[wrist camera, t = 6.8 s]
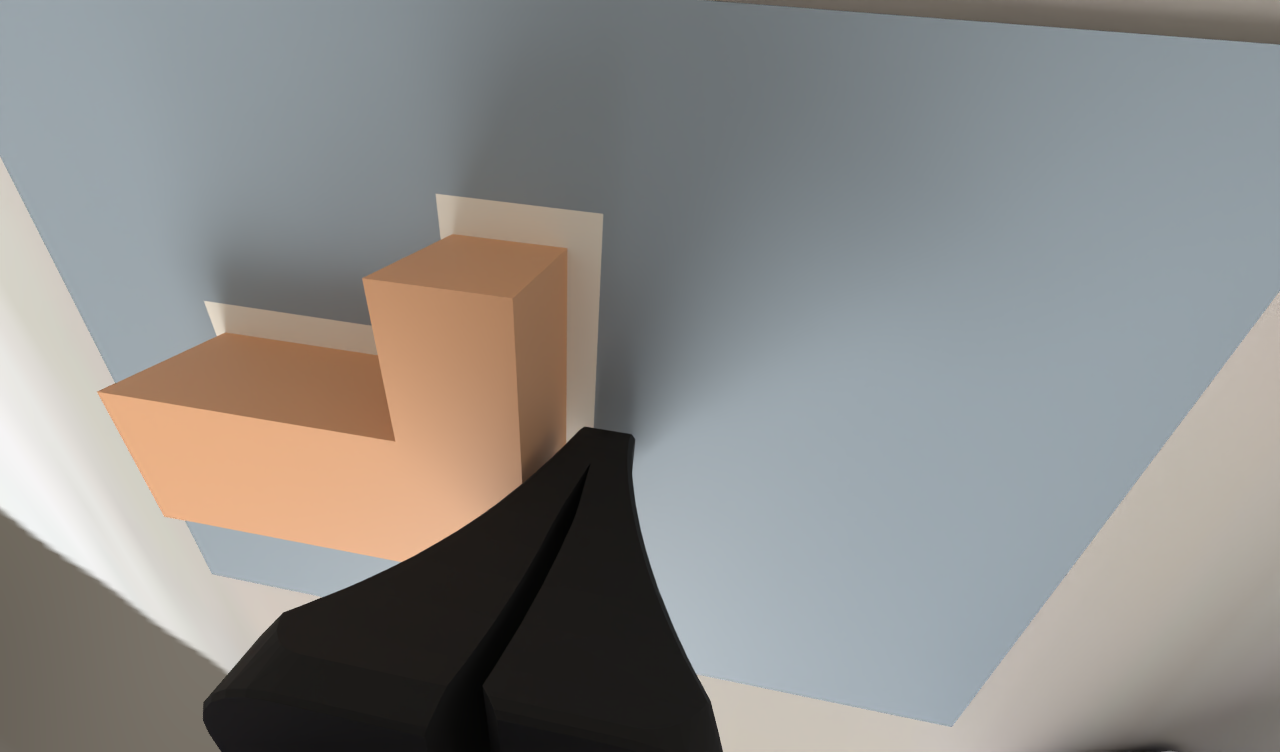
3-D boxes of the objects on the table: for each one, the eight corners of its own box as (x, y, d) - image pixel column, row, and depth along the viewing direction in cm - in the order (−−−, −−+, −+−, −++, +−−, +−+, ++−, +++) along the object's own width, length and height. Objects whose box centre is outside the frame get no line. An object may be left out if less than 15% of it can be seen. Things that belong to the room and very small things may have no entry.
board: (1412, 60, 7) (1453, 58, 7) (945, 710, 16) (951, 726, 16) (-75, -56, 10) (-111, -63, 9) (224, 563, 19) (212, 574, 18)
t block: (567, 247, 10) (512, 298, 8) (565, 573, 15) (531, 671, 13) (177, 200, 11) (10, 231, 9) (294, 522, 16) (211, 603, 14)
